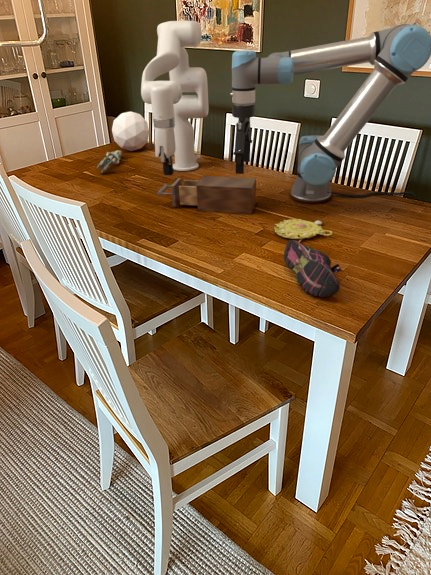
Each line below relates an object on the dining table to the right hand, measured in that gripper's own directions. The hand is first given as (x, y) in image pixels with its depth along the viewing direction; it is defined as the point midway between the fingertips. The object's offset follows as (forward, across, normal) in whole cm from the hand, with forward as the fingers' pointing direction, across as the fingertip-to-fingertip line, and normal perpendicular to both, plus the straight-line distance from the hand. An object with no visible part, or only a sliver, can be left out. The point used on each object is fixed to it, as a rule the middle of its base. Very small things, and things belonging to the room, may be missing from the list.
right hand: (243, 167), depth 157 cm
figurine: (+15, -43, -72) cm, 85 cm away
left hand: (+4, 0, -28) cm, 28 cm away
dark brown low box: (+15, 0, -6) cm, 17 cm away
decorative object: (+15, +18, +23) cm, 33 cm away
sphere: (+15, -71, -72) cm, 102 cm away
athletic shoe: (+15, +47, +28) cm, 57 cm away
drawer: (+14, 0, -19) cm, 24 cm away
